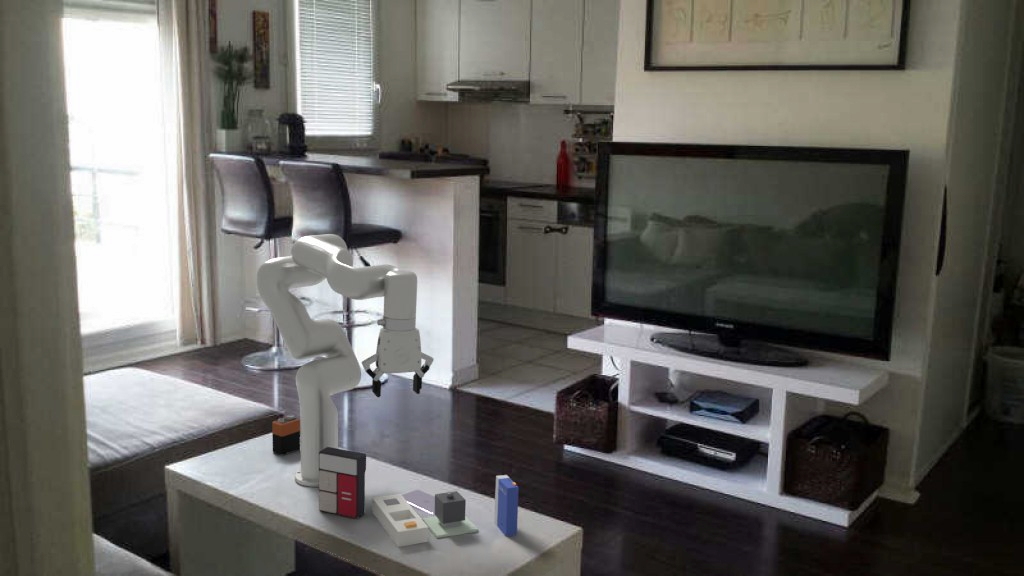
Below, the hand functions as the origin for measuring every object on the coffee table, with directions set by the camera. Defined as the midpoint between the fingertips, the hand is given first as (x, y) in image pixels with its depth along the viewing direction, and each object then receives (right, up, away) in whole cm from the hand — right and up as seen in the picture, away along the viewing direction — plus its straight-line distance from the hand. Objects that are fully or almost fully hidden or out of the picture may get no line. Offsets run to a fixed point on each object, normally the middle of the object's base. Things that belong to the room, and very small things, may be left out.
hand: (396, 393), depth 216 cm
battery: (-36, -21, +42) cm, 59 cm away
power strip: (+1, -30, -4) cm, 31 cm away
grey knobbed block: (+13, -30, -3) cm, 33 cm away
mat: (+13, -30, -3) cm, 33 cm away
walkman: (+26, -31, -4) cm, 41 cm away
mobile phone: (+6, -29, +9) cm, 31 cm away
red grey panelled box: (-13, -29, +2) cm, 32 cm away
